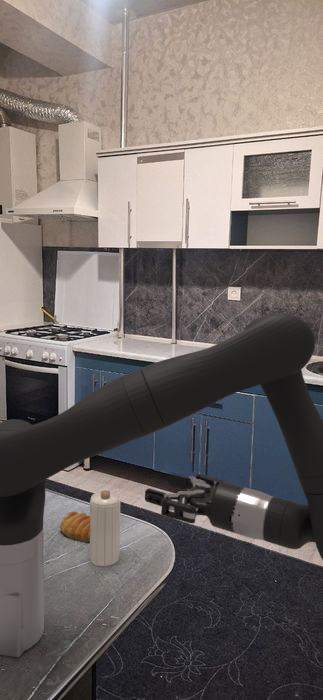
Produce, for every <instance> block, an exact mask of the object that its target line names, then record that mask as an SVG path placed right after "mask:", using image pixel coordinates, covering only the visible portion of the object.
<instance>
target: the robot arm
mask: <svg viewBox="0 0 323 700" xmlns="http://www.w3.org/2000/svg"><path fill="white" fill-rule="evenodd" d="M315 346H316V338H315V333H314V332H313V329H312V328H311V326H310V325H309V324H308V323H307V322H306V321H305V320H304V319H302V318H301V317H298V316H297V315H293V314H291V313H286V312H274V313H268V314H265V315H261V316H259V317H256V318H255V319H252V321H250V322H249V323H248V324H247V326H246V327H245V328H244V330H242V331H241V332H239V333H236V334H235V335H233V336H231V337H229V338H226V339H225V340H223V341H221V342H219V343H217V344H214V345H212V346H210V347H207V348H204V349H200V350H196V351H193V352H188V353H185V354H182V355H177V356H174V357H173V356H172V357H170V358H166V359H164V360H163V359H162V360H160V361H157V362H154V363H151V364H148V365H146V366H144V367H143V366H142V367H141V368H138V369H136V370H134V371H131V372H128V373H127V374H124V375H122V376H119V377H118V378H115V379H113V380H112V381H110V382H107V383H106V384H104V385H103V386H100V387H99V388H97V389H96V390H94V391H93V392H91V393H90V394H88V395H87V396H85V397H84V398H82V399H80V400H79V401H77V403H75V404H73V405H72V406H70V407H69V408H68V409H66V410H64V411H62V412H61V413H59V414H57V415H55V416H53V417H51V418H48V419H47V420H44V421H40V422H38V423H36V424H32V423H30V422H29V421H26V420H23V419H15V418H14V419H13V418H12V419H6V420H4V421H2V422H0V656H1V655H2V656H5V657H6V656H8V657H14V658H19V657H21V656H22V654H23V653H24V652H25V651H27V650H29V649H31V648H32V647H34V646H35V645H36V644H38V642H39V641H40V640H41V638H42V637H43V635H44V631H45V596H44V595H45V588H44V587H45V586H44V585H45V581H44V580H45V577H44V575H45V573H44V572H45V569H44V567H45V565H44V564H45V563H44V515H45V507H46V504H45V503H46V480H47V479H49V478H51V477H53V476H55V475H57V474H58V473H60V472H62V471H64V470H65V469H68V468H70V467H71V466H73V465H75V464H77V463H80V462H81V461H84V460H87V459H90V458H92V457H94V456H98V455H100V454H102V453H106V452H109V451H110V450H114V449H115V448H118V447H121V446H123V445H126V444H127V443H129V442H133V441H135V440H138V439H140V438H143V437H146V436H148V435H150V434H153V433H155V432H157V431H160V430H162V429H164V428H166V427H169V426H171V425H173V424H175V423H177V422H179V421H182V420H183V419H185V418H188V417H189V416H191V415H194V414H196V413H198V412H200V411H202V410H204V409H206V408H208V407H210V406H212V405H213V404H215V403H217V402H219V401H221V400H223V399H225V398H227V397H229V396H231V395H234V394H236V393H239V392H241V391H244V390H248V389H251V388H254V387H257V386H260V387H261V388H262V391H263V393H264V394H265V397H266V399H267V400H268V403H269V405H270V407H271V410H272V411H273V414H274V416H275V419H276V420H277V423H278V426H279V428H280V431H281V434H282V437H283V439H284V442H285V444H286V448H287V450H288V453H289V456H290V459H291V462H292V464H293V467H294V469H295V470H294V471H295V473H296V475H297V478H298V481H299V483H300V486H301V489H302V491H303V494H304V496H305V498H306V501H307V503H305V504H304V503H303V504H301V503H297V502H293V501H291V500H287V499H283V498H279V497H276V496H272V495H270V494H268V493H265V492H262V491H260V490H256V489H252V488H248V487H245V486H241V485H237V484H233V483H230V482H226V481H224V480H221V479H219V478H214V477H210V476H207V475H205V474H201V473H197V474H195V476H192V475H190V476H185V475H181V474H177V473H173V472H171V473H170V474H168V480H167V481H168V483H167V484H168V485H169V486H170V487H171V486H172V487H175V488H178V489H182V490H179V491H177V493H166V492H164V491H163V492H162V491H159V490H156V489H152V488H147V489H146V490H145V491H144V501H145V502H146V503H150V504H153V505H156V506H159V507H161V511H160V514H161V515H162V516H164V517H166V518H167V517H168V518H171V519H174V520H178V521H182V522H184V523H187V524H195V523H196V517H197V516H204V517H207V519H208V520H209V523H210V525H211V526H212V527H214V528H217V529H220V530H224V531H227V532H230V533H233V534H236V535H238V536H243V537H245V538H249V539H253V540H260V541H264V542H267V543H270V544H274V545H275V546H280V547H283V548H286V549H290V550H299V549H300V548H302V547H303V546H304V545H306V544H309V543H315V547H316V549H317V552H318V553H319V556H320V558H321V559H322V561H323V417H322V416H321V414H320V412H319V411H318V409H317V407H316V405H315V403H314V401H313V399H312V397H311V394H310V392H309V389H308V387H307V384H306V380H305V379H304V374H303V372H302V371H303V369H304V368H305V367H306V366H307V364H308V363H309V362H310V360H311V359H312V357H313V354H314V352H315Z"/></svg>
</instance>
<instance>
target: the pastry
mask: <svg viewBox="0 0 323 700" xmlns="http://www.w3.org/2000/svg"><path fill="white" fill-rule="evenodd" d="M59 529H60V531H61V532H62V533H63V534H62V535H64V536H66V537H67V538H69V539H71V540H75V541H79V542H82V543H83V542H84V543H90V514H89V515H87V514H86V512H81V513H79V512H78V511H74V510H73V511H70V512H68V513H67V514H66V515H65V516H64V517H63V518H62V520H61V522H60V525H59Z"/></svg>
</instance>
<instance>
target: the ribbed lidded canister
mask: <svg viewBox="0 0 323 700" xmlns="http://www.w3.org/2000/svg"><path fill="white" fill-rule="evenodd" d="M89 516H90V542H89V559H90V560H89V561H90V563H92V564H93V565H95V566H98V567H99V566H100V567H107V566H113V565H114V564H116V563H118V561H119V559H120V543H121V541H120V540H121V499H120V495H119V494H118V493H117V492H113V491H110V490H101V491H99V492H98V491H97V492H95V493H93V494H92V495H91V497H90V501H89Z"/></svg>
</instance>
